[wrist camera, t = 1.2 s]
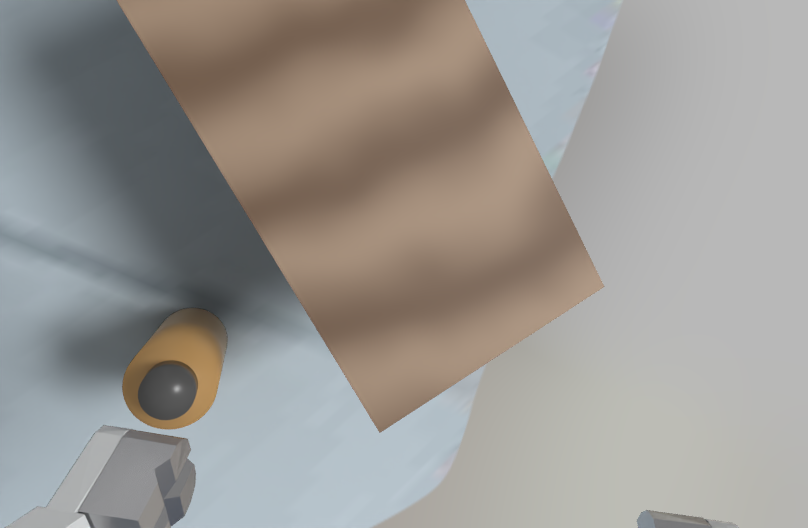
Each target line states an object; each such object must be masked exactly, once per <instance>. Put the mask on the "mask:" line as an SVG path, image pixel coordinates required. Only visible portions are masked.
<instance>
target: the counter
mask: <svg viewBox="0 0 808 528" xmlns="http://www.w3.org/2000/svg"><path fill="white" fill-rule="evenodd" d="M117 2H118V4H119V5H120V7H121V8H122V10H123V12H124V13H125V15H126V17H127V18H128V20H129V22H130V23H131V25H132V27H133V28H134V30H135V31H136V33H137V35H138V36H139V38H140V40H141V41H142V43H143V45H144V46H145V48H146V50H147V51H148V53H149V54H150V56H151V58H152V59H153V61H154V63H155V64H156V66H157V68H158V69H159V71H160V73H161V74H162V76H163V77H164V79H165V81H166V82H167V84H168V86H169V87H170V89H171V91H172V92H173V94H174V96H175V97H176V99H177V100H178V102H179V104H180V105H181V107H182V109H183V110H184V112H185V114H186V115H187V117H188V119H189V120H190V122H191V123H192V125H193V127H194V128H195V130H196V132H197V133H198V135H199V137H200V138H201V140H202V142H203V143H204V145H205V147H206V148H207V150H208V151H209V153H210V155H211V156H212V158H213V160H214V161H215V163H216V165H217V166H218V168H219V170H220V171H221V173H222V174H223V176H224V178H225V179H226V181H227V183H228V184H229V186H230V188H231V189H232V191H233V193H234V194H235V196H236V197H237V199H238V201H239V202H240V204H241V206H242V207H243V209H244V211H245V212H246V214H247V216H248V217H249V219H250V220H251V222H252V224H253V225H254V227H255V229H256V230H257V232H258V234H259V235H260V237H261V239H262V240H263V242H264V243H265V245H266V247H267V248H268V250H269V252H270V253H271V255H272V257H273V258H274V260H275V262H276V263H277V265H278V266H279V268H280V270H281V271H282V273H283V275H284V276H285V278H286V280H287V281H288V283H289V285H290V286H291V288H292V289H293V291H294V293H295V294H296V296H297V298H298V299H299V301H300V303H301V304H302V306H303V308H304V309H305V311H306V312H307V314H308V316H309V317H310V319H311V321H312V322H313V324H314V326H315V327H316V329H317V331H318V332H319V334H320V335H321V337H322V339H323V340H324V342H325V344H326V345H327V347H328V349H329V350H330V352H331V354H332V355H333V357H334V358H335V360H336V362H337V363H338V365H339V367H340V368H341V370H342V372H343V373H344V375H345V377H346V378H347V380H348V381H349V383H350V385H351V386H352V388H353V390H354V391H355V393H356V395H357V396H358V398H359V400H360V401H361V403H362V405H363V406H364V408H365V409H366V411H367V413H368V414H369V416H370V418H371V419H372V421H373V423H374V424H375V426H376V428H377V429H378V431H379V432H382V431H383V430H385V429H386V428H388V427H390V426H391V425H393V424H394V423H396V422H397V421H399V420H400V419H402V418H403V417H405V416H406V415H408V414H410V413H411V412H413V411H414V410H416V409H417V408H419V407H420V406H422V405H423V404H425V403H426V402H428V401H429V400H431V399H433V398H434V397H436V396H437V395H439V394H440V393H442V392H443V391H445V390H446V389H448V388H449V387H451V386H453V385H454V384H456V383H457V382H459V381H460V380H462V379H463V378H465V377H466V376H468V375H469V374H471V373H473V372H474V371H476V370H477V369H479V368H480V367H482V366H483V365H485V364H486V363H488V362H489V361H491V360H493V359H494V358H495V357H497V356H499V355H500V354H502V353H503V352H505V351H506V350H508V349H509V348H511V347H513V346H514V345H515V344H517V343H519V342H520V341H522V340H523V339H525V338H526V337H528V336H529V335H531V334H532V333H534V332H535V331H537V330H539V329H540V328H542V327H543V326H545V325H546V324H548V323H549V322H551V321H552V320H554V319H556V318H557V317H559V316H560V315H562V314H563V313H565V312H566V311H568V310H569V309H571V308H572V307H574V306H575V305H577V304H579V303H580V302H581V301H583V300H584V299H586V298H587V297H589V296H591V295H592V294H594V293H595V292H597V291H599V290H600V289H602V288H603V287H604V285H603V283H602V281H601V279H600V277H599V275H598V273H597V271H596V269H595V267H594V265H593V262H592V260H591V258H590V256H589V254H588V252H587V250H586V248H585V246H584V244H583V242H582V240H581V238H580V236H579V234H578V232H577V230H576V228H575V226H574V224H573V222H572V219H571V217H570V216H569V213H568V211H567V209H566V207H565V205H564V203H563V201H562V199H561V197H560V195H559V193H558V191H557V189H556V187H555V185H554V182H553V180H552V178H551V176H550V174H549V172H548V170H547V168H546V166H545V164H544V162H543V160H542V158H541V156H540V154H539V152H538V150H537V148H536V145H535V143H534V141H533V139H532V137H531V135H530V133H529V131H528V129H527V127H526V125H525V123H524V121H523V119H522V117H521V115H520V113H519V111H518V109H517V106H516V104H515V102H514V100H513V98H512V96H511V94H510V92H509V90H508V88H507V86H506V84H505V82H504V80H503V78H502V76H501V74H500V72H499V70H498V67H497V65H496V63H495V61H494V59H493V57H492V55H491V53H490V51H489V49H488V47H487V45H486V43H485V41H484V39H483V37H482V35H481V33H480V31H479V28H478V26H477V24H476V22H475V20H474V18H473V16H472V14H471V12H470V10H469V8H468V6H467V4H466V2H465V0H117Z"/></svg>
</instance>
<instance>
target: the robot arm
mask: <svg viewBox="0 0 808 528" xmlns="http://www.w3.org/2000/svg"><path fill="white" fill-rule="evenodd" d="M190 451H191V448H190V445H189V441H188V439H186V438H180V437H174V436H168V435H161V434H155V433H149V432H143V431H136V430H133V429H127V428H120V427H114V426H107V425H103V426H102V427H101V428H100V429H99V430H98V431H96V432H95V433H94V434H93V436H92V437H91V439H90V441H89V442H88V444H87V445H86V447H85V448H84V450H83V451H82V453H81V454H80V456H79V457H78V459H77V460H76V462H75V463H74V465H73V466H72V468H71V470H70V471H69V473H68V474H67V476H66V477H65V479H64V480H63V482H62V483H61V485H60V486H59V488H58V489H57V491H56V492H55V494H54V495H53V497H52V499H51V500H50V502H49V503H48V505H47V506H46V507H39V506H37V507H36V508H34V509H33V510H31V511H30V512H28V513H26V514H25V515H23V516H22V517H20V518H19V519H17V520H16V521H14V522H13V523H11V524H10V525H8V526H7V527H5V528H171V526H172V525H173V524H175V523H176V522H177V521H179V520H180V519H181V518H183V517H184V516H185V514H186V512H187V509H188V507H189V505H190V502H191V499H192V495H193V491H194V487H195V480H196V471H195V466H194V464H193V463H192V462H191V461H189V460H188V459H187V457H188V455H189V453H190ZM637 523H638V528H739V527H738V526H737V525H736V524H733V523H730V522H723V521H716V520H709V519H703V518H700V517H693V516H686V515H678V514H672V513H663V512H657V511H650V510H646V511H644V512H642V513H641V514H640V516H639V517H638V519H637Z"/></svg>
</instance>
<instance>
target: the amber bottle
mask: <svg viewBox="0 0 808 528" xmlns="http://www.w3.org/2000/svg"><path fill="white" fill-rule="evenodd" d="M226 348H227V333H226V329H225V327H224V325H223V324H222V322H221V321H220V320H219V318H218V317H216V316H215V315H214V314H212V313H211V312H209V311H206V310H203V309H199V308H186V309H182V310H179V311H177V312H175V313H173V314H171V315H170V316H169V317H168V318H167V319H166V320H165V321H164V322H163V323H162V324H161V326H160V327H159V328H158V329H157V330H156V332H155V333H154V334H153V335H152V337H151V338H150V339H149V340H148V341H147V343H146V344H145V345H144V346H143V348H142V349H141V350H140V351H139V352H138V354H137V355H136V356H135V357H134V358H133V360H132V361H131V362H130V364H129V366H128V367H127V369H126V372H125V374H124V378H123V386H122V388H123V396H124V400H125V402H126V404H127V406H128V408H129V410H130V411H131V412H132V414H133V415H134V416H135V417H136V418H138V419H139V420H140V421H142V422H143V423H145V424H147V425H149V426H152V427H155V428H160V429H177V428H182V427H185V426H188V425H190V424H192V423H194V422H196V421H197V420H199V419H200V418H201V417H202V416H204V415H205V413H206V412H207V411H208V410H209V409H210V407H211V406H212V404H213V402H214V400H215V397H216V393H217V389H218V385H219V380H220V375H221V371H222V366H223V362H224V357H225V353H226Z"/></svg>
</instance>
